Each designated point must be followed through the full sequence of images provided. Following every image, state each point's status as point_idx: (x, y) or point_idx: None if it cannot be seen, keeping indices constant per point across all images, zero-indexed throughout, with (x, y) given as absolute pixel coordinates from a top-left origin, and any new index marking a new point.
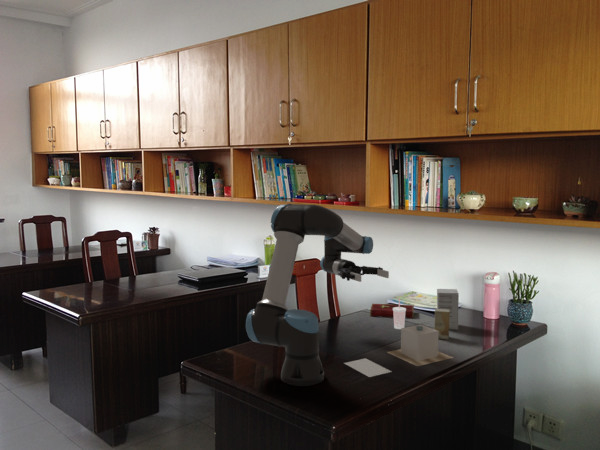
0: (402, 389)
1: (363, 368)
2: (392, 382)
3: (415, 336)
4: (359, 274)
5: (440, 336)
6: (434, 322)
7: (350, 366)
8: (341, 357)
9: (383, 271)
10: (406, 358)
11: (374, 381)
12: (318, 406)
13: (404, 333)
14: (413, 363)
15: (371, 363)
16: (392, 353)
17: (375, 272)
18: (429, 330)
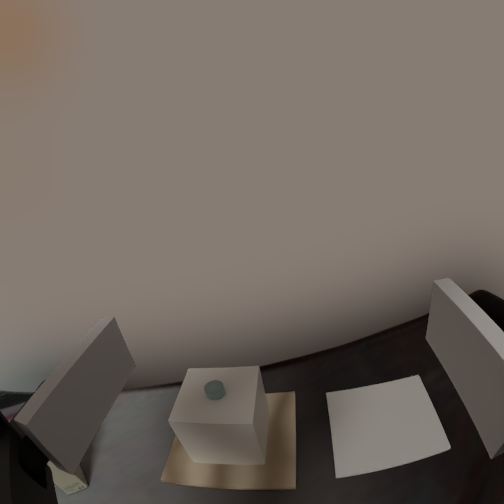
0: (379, 336)
1: (415, 412)
2: (383, 356)
3: (259, 379)
4: (448, 290)
5: (80, 471)
6: (54, 468)
7: (440, 426)
8: (440, 495)
9: (89, 357)
10: (281, 432)
11: (413, 364)
12: (500, 314)
13: (256, 417)
14: (290, 404)
15: (384, 434)
16: (287, 472)
17: (39, 485)
18: (201, 378)
